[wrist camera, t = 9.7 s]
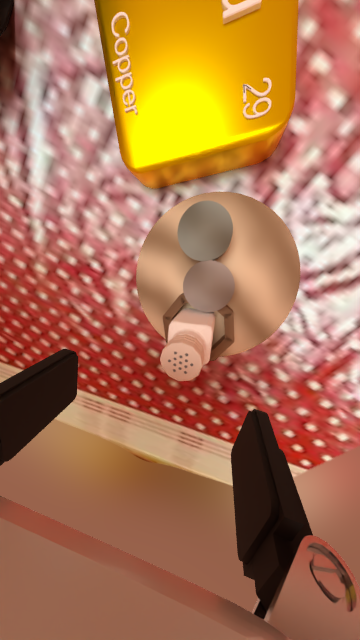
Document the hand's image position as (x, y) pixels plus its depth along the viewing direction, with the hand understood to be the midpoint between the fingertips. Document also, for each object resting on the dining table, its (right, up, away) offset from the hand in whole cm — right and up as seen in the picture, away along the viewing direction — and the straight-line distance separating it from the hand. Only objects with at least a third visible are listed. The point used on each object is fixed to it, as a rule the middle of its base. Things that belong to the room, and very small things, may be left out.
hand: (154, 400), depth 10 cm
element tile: (+3, +27, +9) cm, 29 cm away
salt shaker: (+3, +4, +13) cm, 14 cm away
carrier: (+5, +9, +13) cm, 16 cm away
